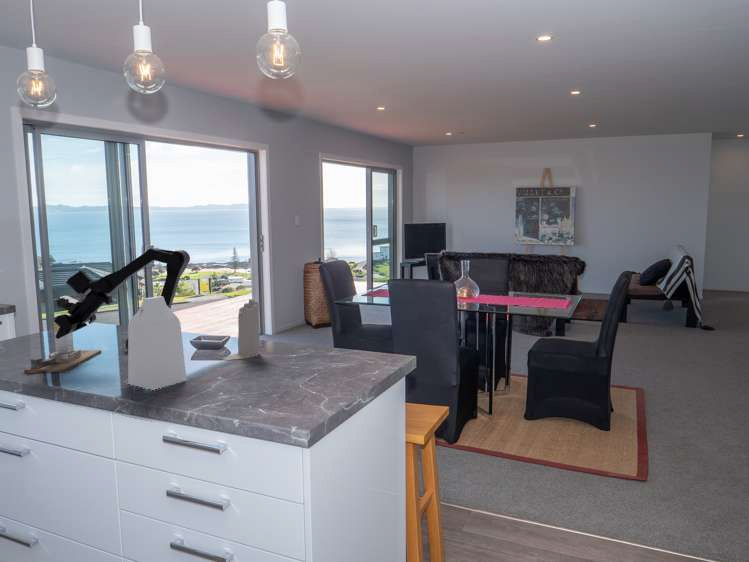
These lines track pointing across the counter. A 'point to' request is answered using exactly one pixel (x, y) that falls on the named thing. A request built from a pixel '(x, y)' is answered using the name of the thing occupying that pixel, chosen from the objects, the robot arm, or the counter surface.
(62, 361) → the shaft board
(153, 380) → the milk
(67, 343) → the block
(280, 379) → the counter surface
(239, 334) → the grey stepped bookend
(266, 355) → the counter surface
